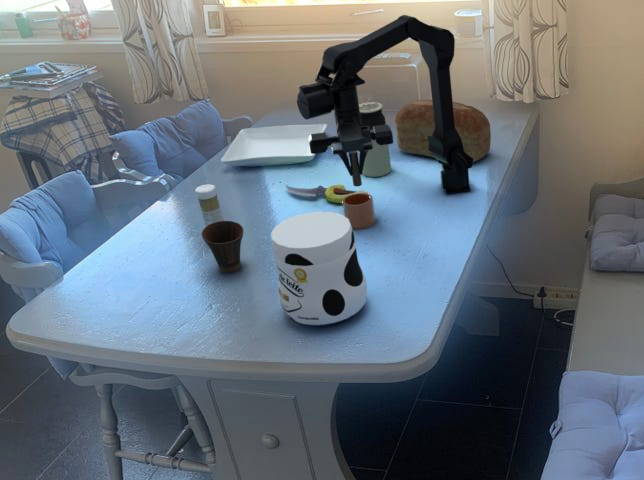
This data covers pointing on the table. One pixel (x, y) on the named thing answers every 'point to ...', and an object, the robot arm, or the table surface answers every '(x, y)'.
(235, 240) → the cup
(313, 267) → the milk container
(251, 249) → the table surface
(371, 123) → the travel mug
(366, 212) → the terracotta cup
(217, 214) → the sprinkles bottle
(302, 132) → the square plate
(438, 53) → the robot arm
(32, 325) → the table surface
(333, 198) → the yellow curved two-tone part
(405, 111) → the bread
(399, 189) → the table surface
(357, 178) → the walnut stick
